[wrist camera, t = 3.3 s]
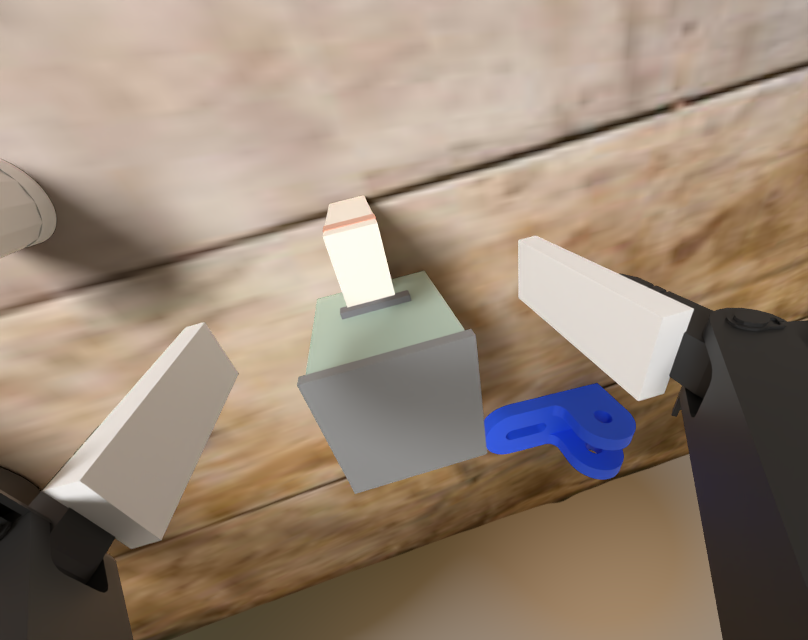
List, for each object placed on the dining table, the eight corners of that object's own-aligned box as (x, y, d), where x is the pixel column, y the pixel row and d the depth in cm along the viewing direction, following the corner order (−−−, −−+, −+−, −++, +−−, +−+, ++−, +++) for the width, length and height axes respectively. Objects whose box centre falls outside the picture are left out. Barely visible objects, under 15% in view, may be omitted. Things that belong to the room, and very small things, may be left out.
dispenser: (312, 294, 29) (295, 381, 18) (426, 264, 30) (475, 331, 19) (350, 388, 36) (355, 493, 25) (443, 362, 37) (487, 453, 26)
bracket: (596, 382, 44) (650, 431, 36) (586, 420, 48) (632, 472, 41) (479, 410, 42) (510, 469, 35) (479, 447, 47) (507, 506, 39)
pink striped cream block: (328, 203, 25) (321, 236, 16) (364, 194, 25) (378, 221, 16) (370, 334, 32) (383, 411, 23) (398, 327, 33) (421, 399, 23)
